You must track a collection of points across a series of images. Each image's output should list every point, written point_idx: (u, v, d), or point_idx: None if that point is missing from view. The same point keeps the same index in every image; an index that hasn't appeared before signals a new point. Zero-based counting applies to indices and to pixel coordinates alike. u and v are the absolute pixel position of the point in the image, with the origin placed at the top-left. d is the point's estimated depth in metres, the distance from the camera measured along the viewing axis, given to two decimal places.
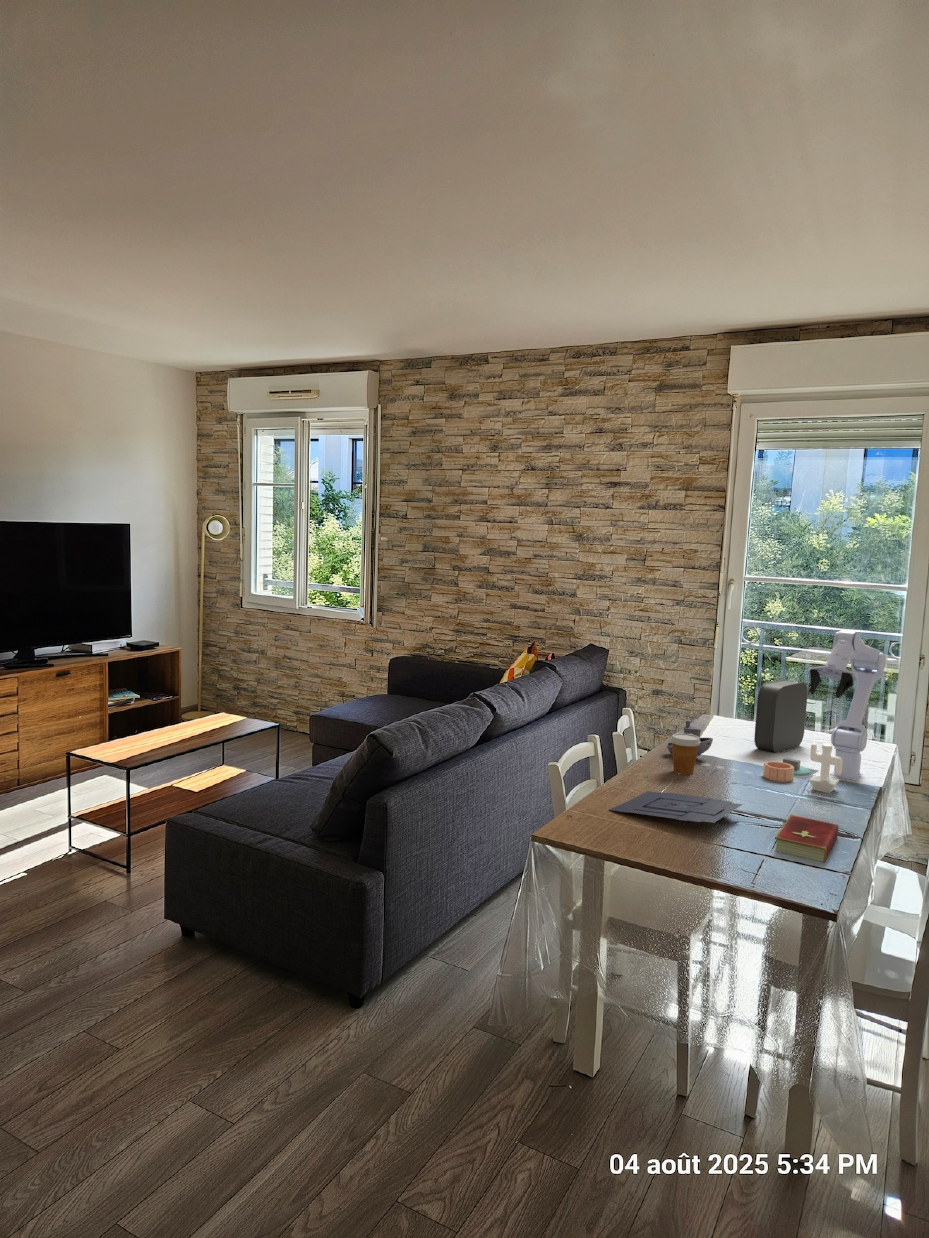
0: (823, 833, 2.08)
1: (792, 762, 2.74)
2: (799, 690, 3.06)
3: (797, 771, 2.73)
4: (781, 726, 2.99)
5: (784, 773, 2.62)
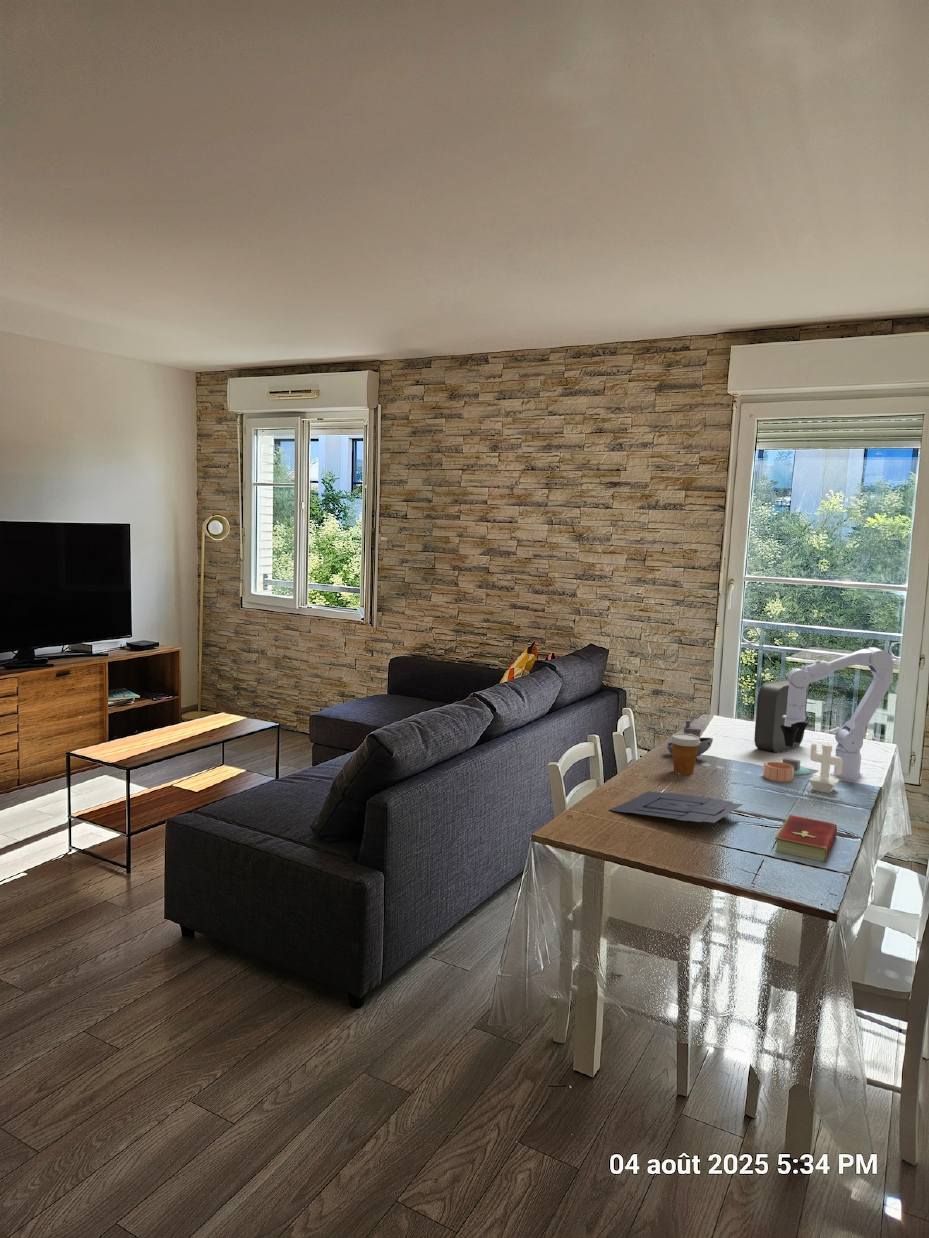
0: (823, 833, 2.08)
1: (792, 762, 2.74)
2: None
3: (797, 771, 2.73)
4: None
5: (784, 773, 2.62)
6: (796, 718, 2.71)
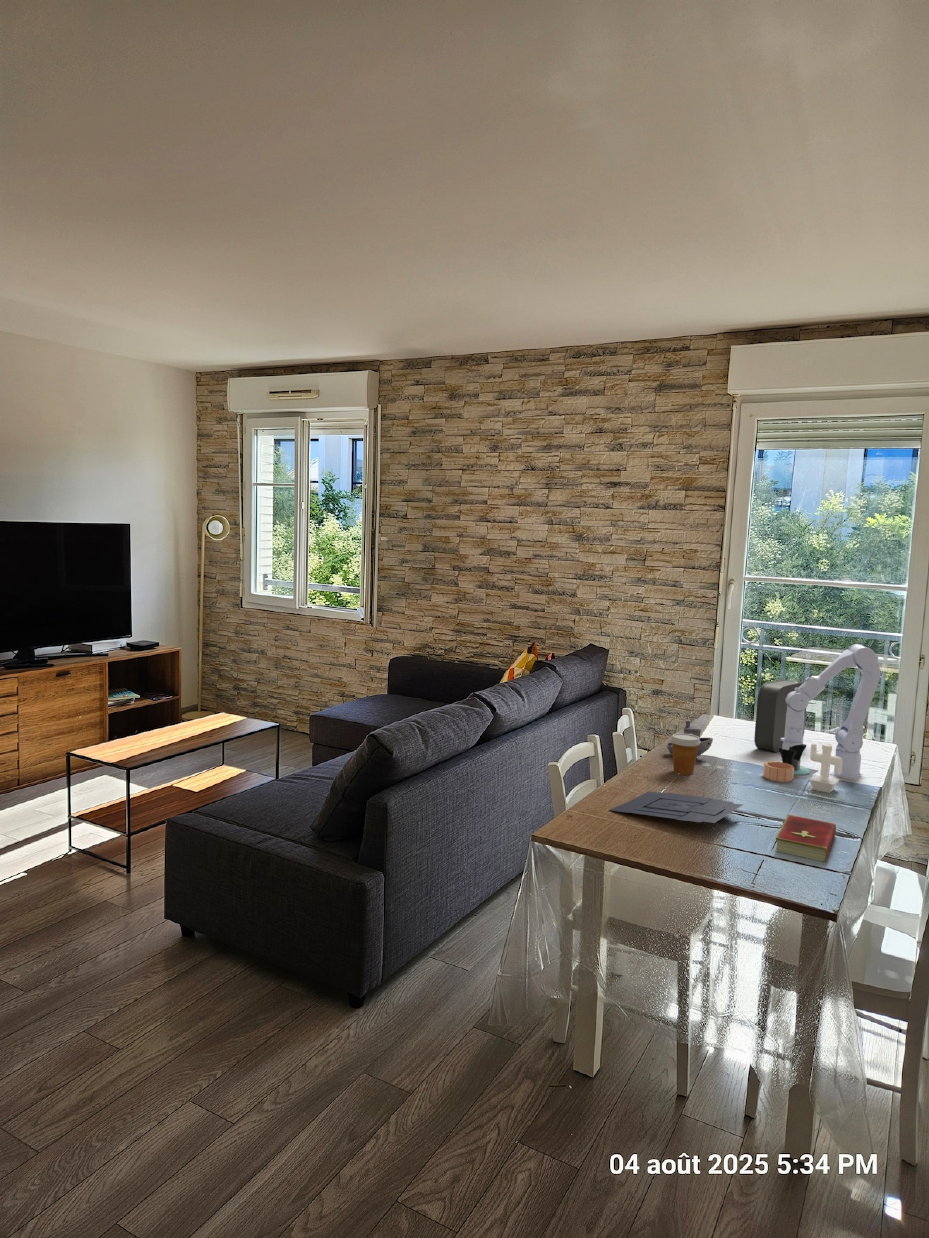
0: (822, 833, 2.08)
1: (792, 762, 2.74)
2: None
3: (797, 771, 2.73)
4: (781, 726, 2.99)
5: (784, 773, 2.62)
6: (794, 741, 2.72)
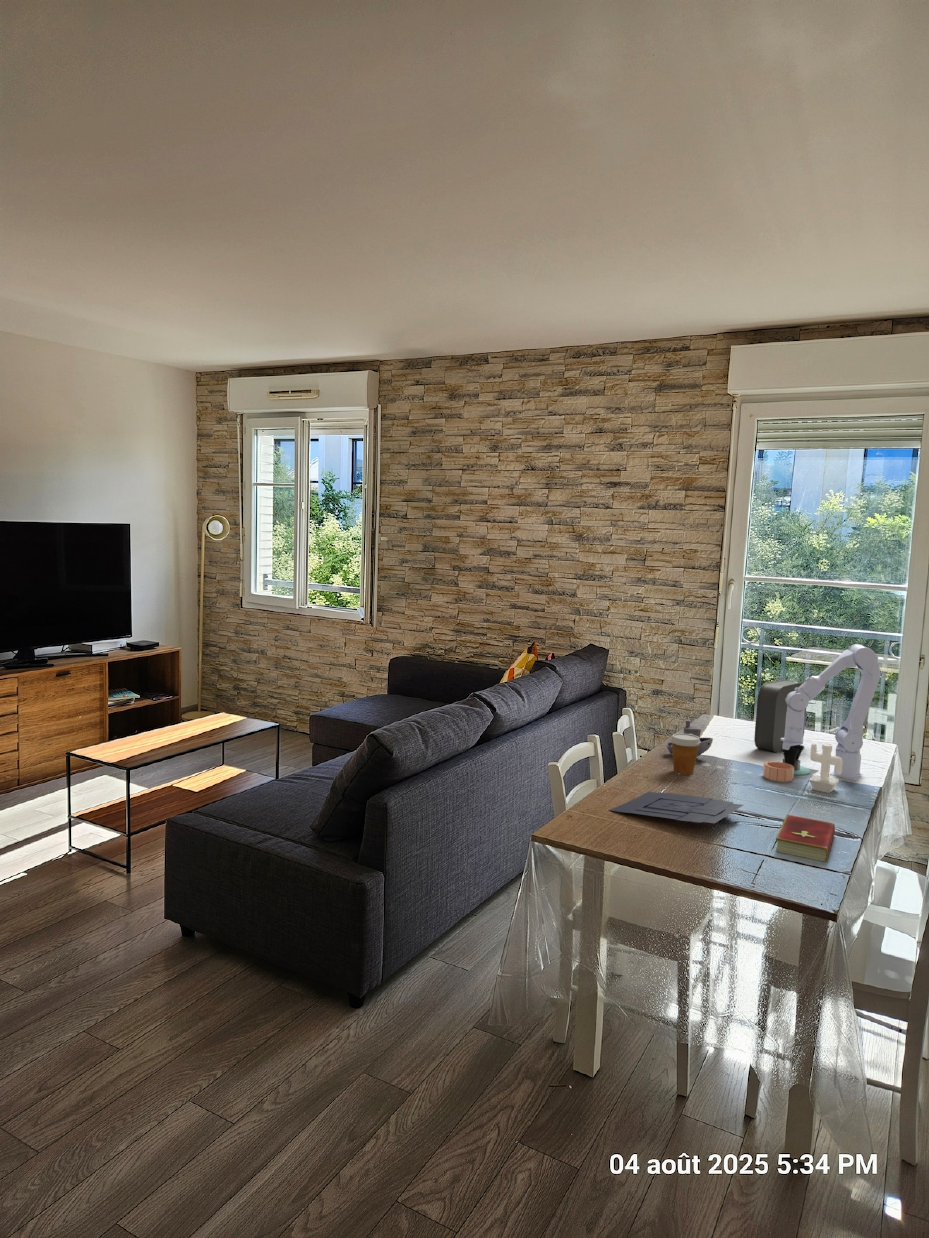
0: (822, 832, 2.08)
1: None
2: None
3: (797, 771, 2.73)
4: (781, 726, 2.99)
5: (784, 773, 2.62)
6: (794, 741, 2.72)
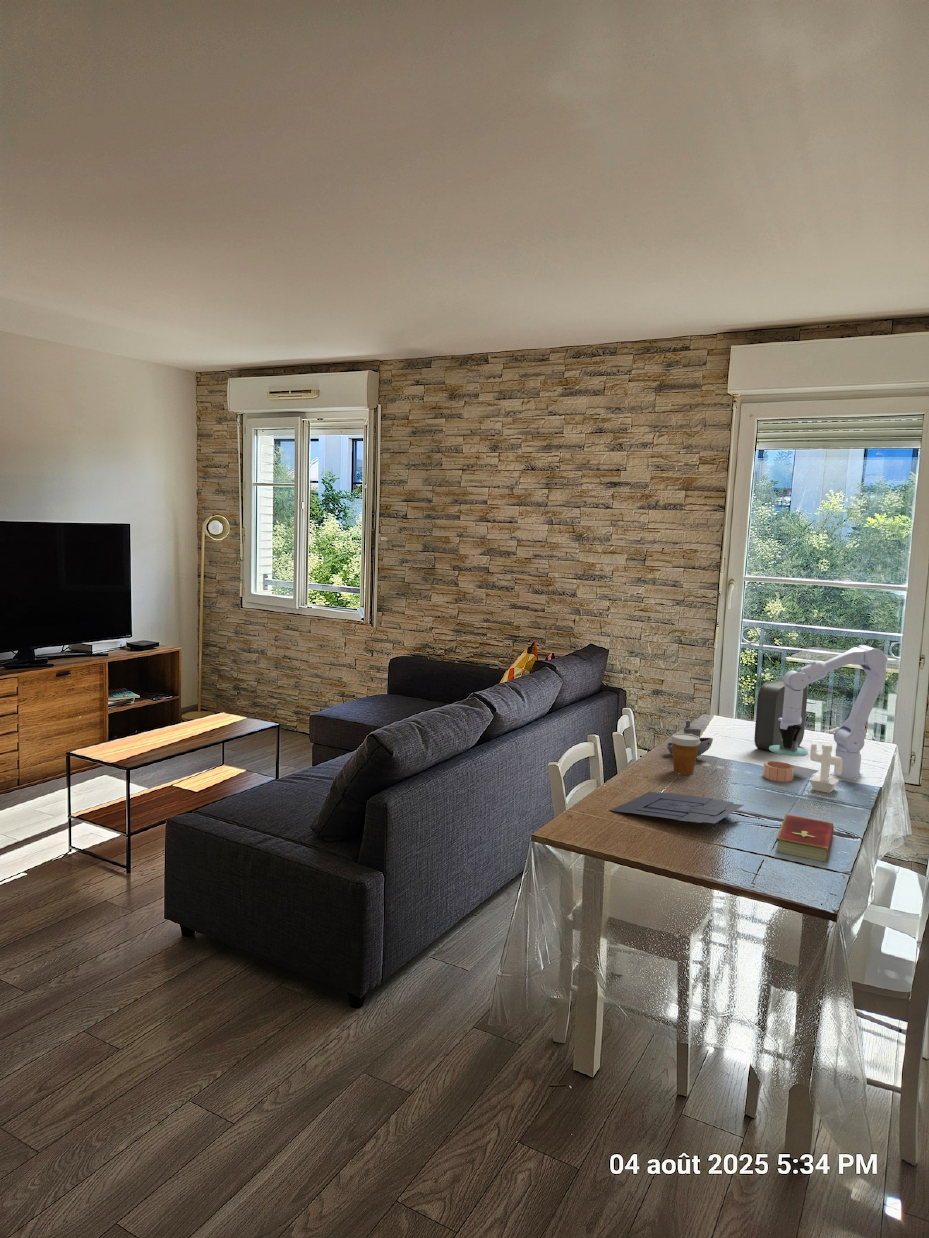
0: (821, 832, 2.08)
1: None
2: None
3: (794, 752, 2.69)
4: None
5: (784, 773, 2.62)
6: (792, 721, 2.69)
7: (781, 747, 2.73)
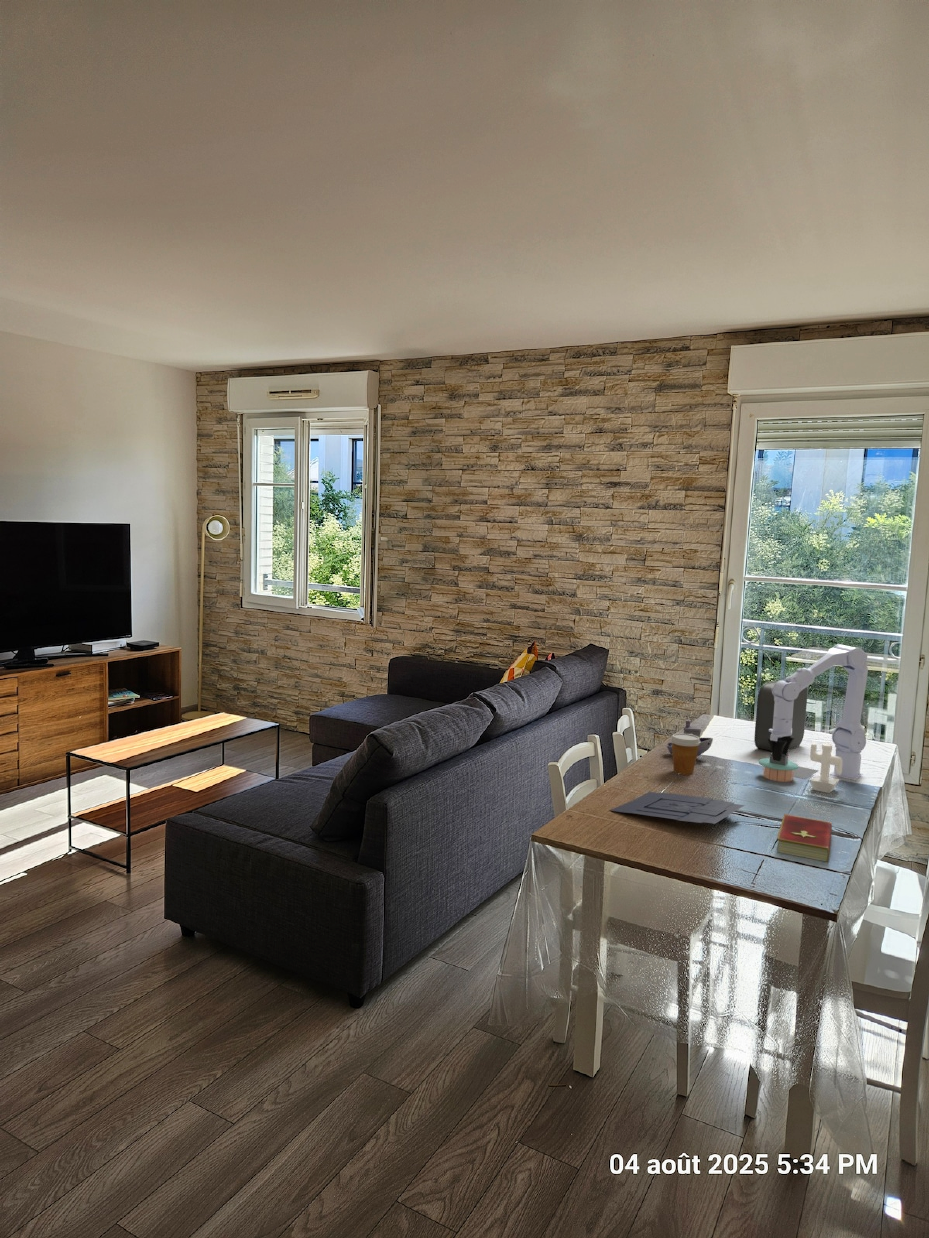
0: (821, 832, 2.08)
1: None
2: None
3: (785, 766, 2.63)
4: None
5: (784, 773, 2.62)
6: (782, 732, 2.63)
7: (771, 761, 2.67)
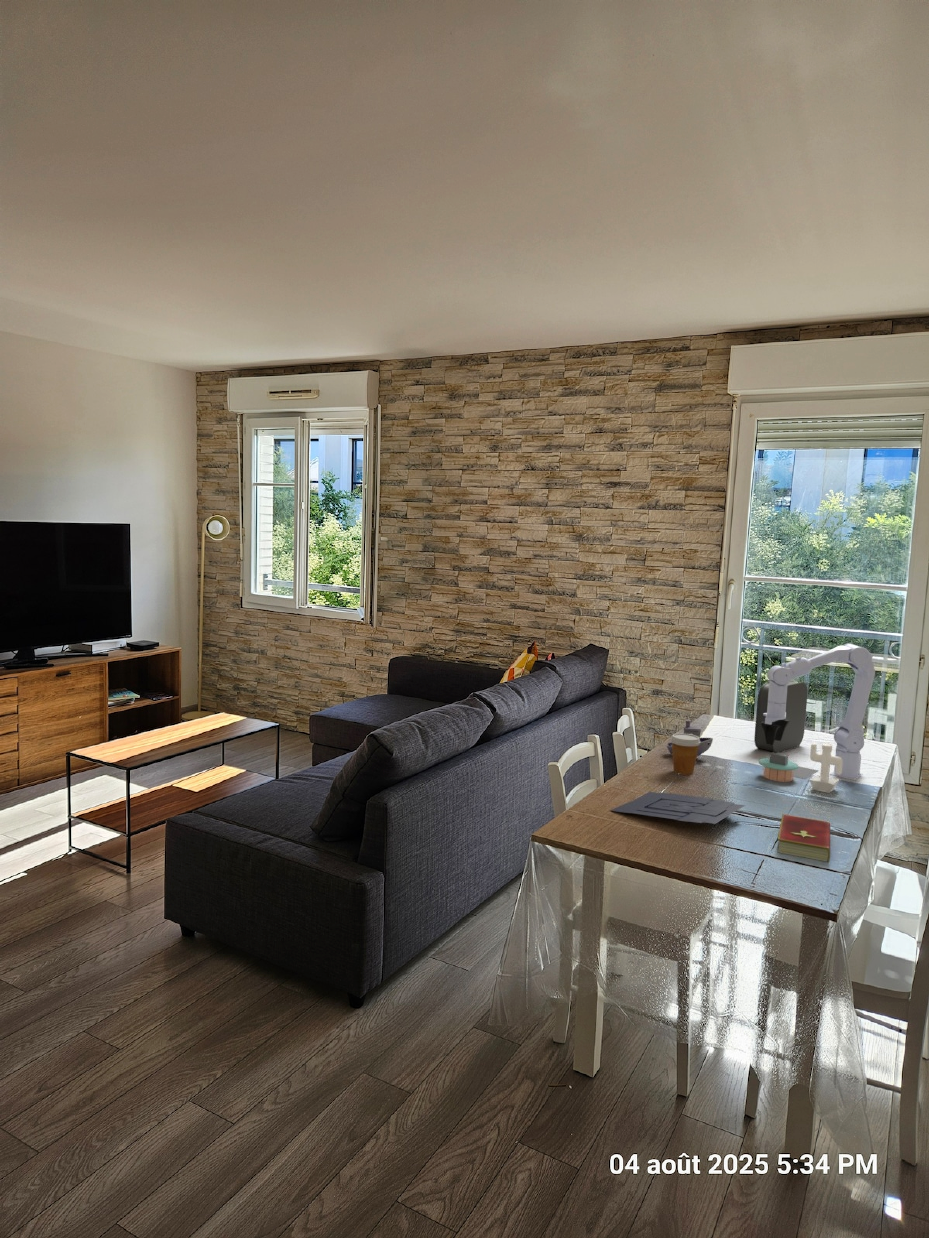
0: (820, 832, 2.09)
1: (780, 757, 2.65)
2: (799, 690, 3.06)
3: (785, 766, 2.63)
4: None
5: (784, 773, 2.62)
6: (777, 716, 2.69)
7: (771, 761, 2.67)
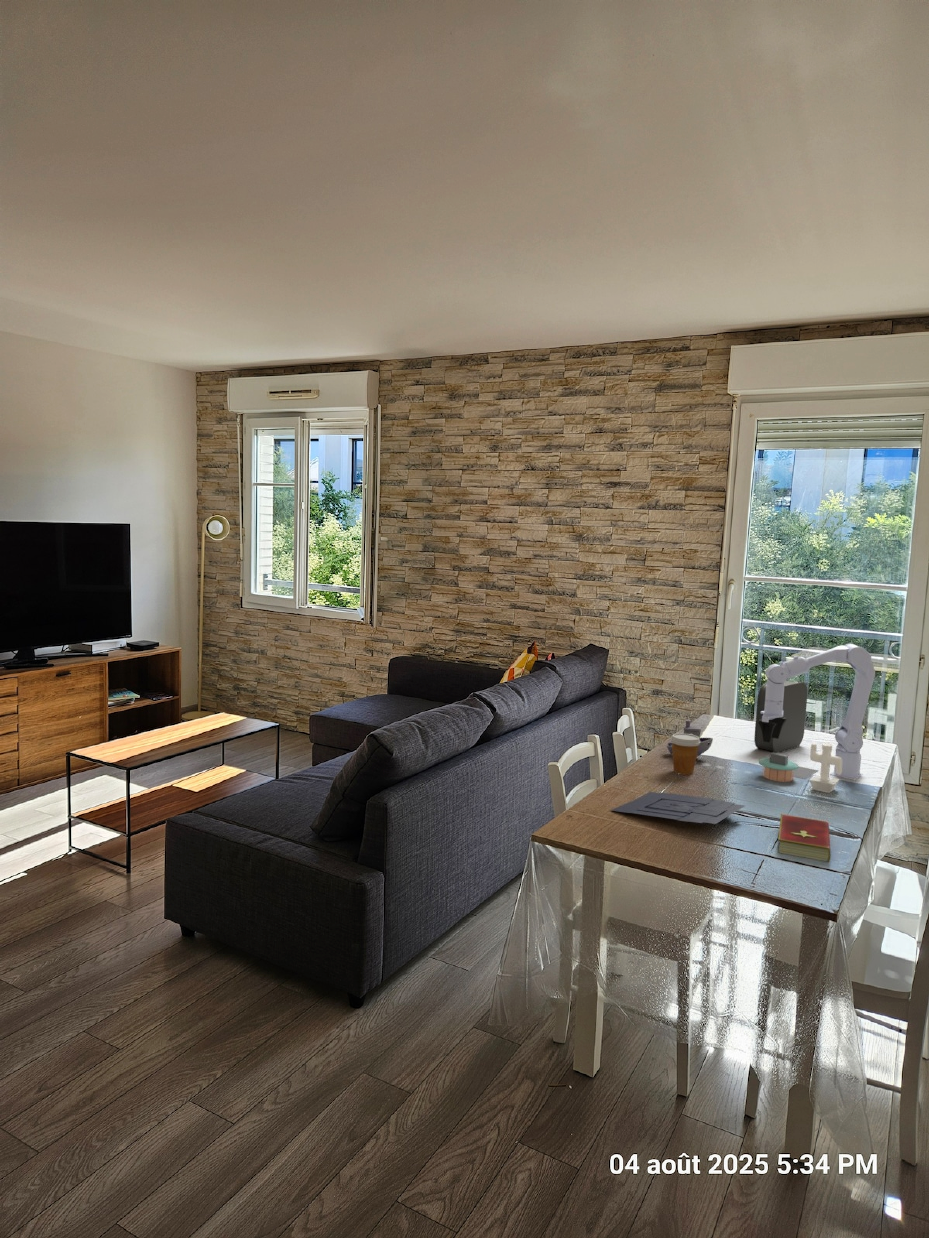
0: (820, 832, 2.09)
1: (780, 757, 2.65)
2: (799, 690, 3.06)
3: (785, 766, 2.63)
4: None
5: (784, 773, 2.62)
6: (774, 714, 2.72)
7: (771, 761, 2.67)
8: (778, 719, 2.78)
